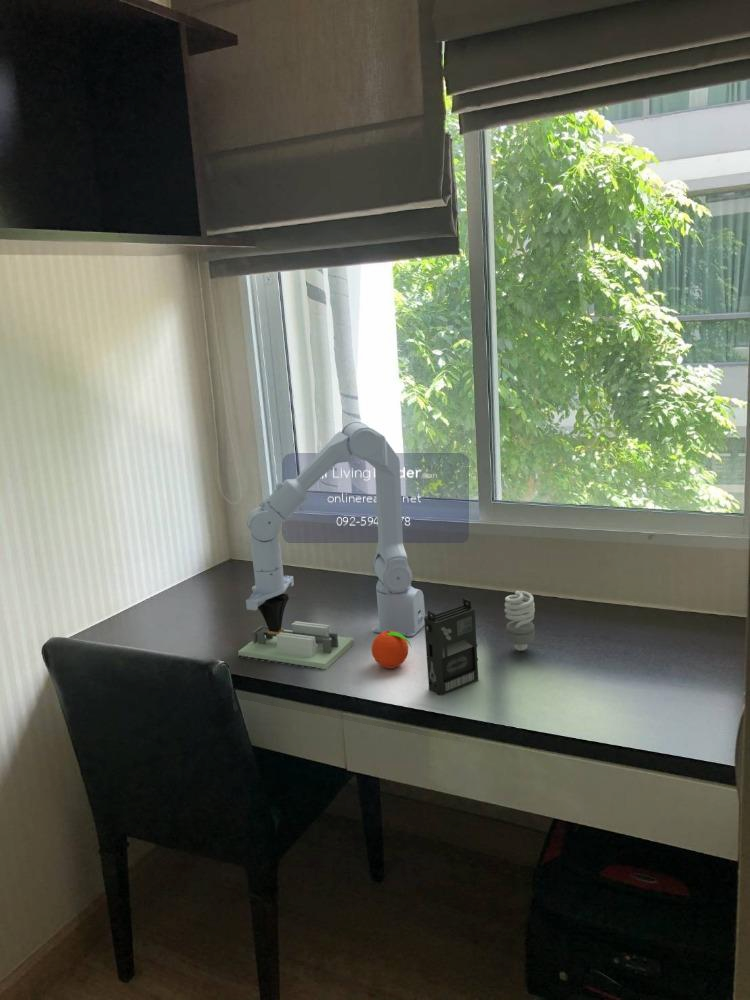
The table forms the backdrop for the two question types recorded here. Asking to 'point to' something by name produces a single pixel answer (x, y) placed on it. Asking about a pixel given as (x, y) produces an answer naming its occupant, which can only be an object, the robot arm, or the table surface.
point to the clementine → (390, 649)
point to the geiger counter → (451, 648)
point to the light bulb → (520, 619)
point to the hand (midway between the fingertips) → (275, 630)
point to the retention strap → (317, 637)
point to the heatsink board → (298, 646)
